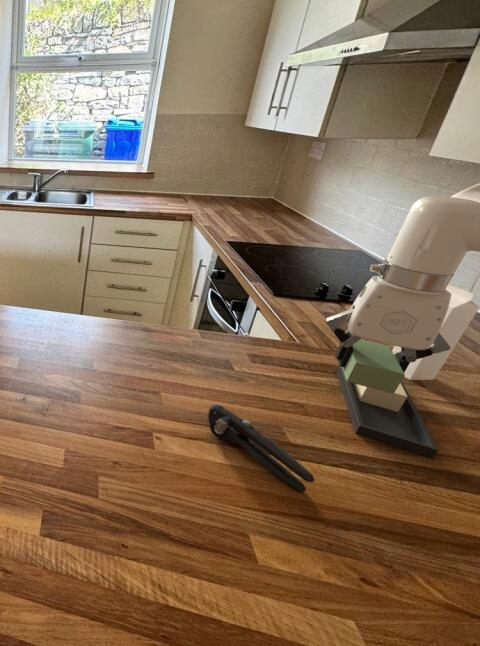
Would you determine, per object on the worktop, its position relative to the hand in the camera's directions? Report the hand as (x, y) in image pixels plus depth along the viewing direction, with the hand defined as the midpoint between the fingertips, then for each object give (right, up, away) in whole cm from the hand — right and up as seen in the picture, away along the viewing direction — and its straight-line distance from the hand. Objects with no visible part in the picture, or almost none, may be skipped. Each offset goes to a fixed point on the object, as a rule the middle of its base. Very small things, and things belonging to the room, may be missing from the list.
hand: (365, 368), depth 71 cm
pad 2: (+17, -8, +16) cm, 25 cm away
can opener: (-20, -16, +1) cm, 25 cm away
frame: (+14, -11, +12) cm, 22 cm away
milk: (+33, -6, +24) cm, 41 cm away
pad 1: (0, -1, 0) cm, 1 cm away
